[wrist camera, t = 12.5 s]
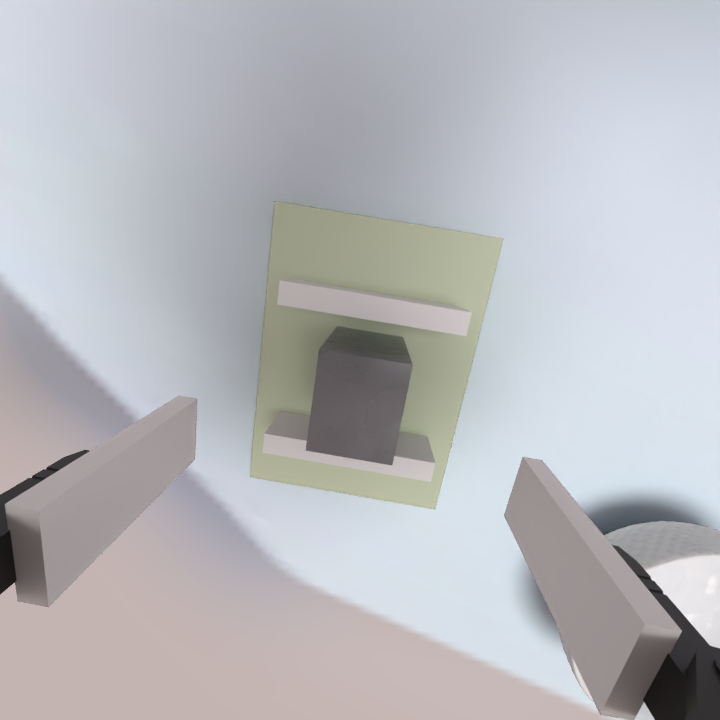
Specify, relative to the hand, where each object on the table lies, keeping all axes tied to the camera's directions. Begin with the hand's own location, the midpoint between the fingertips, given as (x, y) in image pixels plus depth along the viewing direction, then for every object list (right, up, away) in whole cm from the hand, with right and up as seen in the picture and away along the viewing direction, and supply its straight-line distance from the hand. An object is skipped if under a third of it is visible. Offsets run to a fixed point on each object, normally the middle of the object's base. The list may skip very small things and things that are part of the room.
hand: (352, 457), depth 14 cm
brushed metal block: (+1, +3, +13) cm, 13 cm away
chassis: (+1, +3, +14) cm, 15 cm away
